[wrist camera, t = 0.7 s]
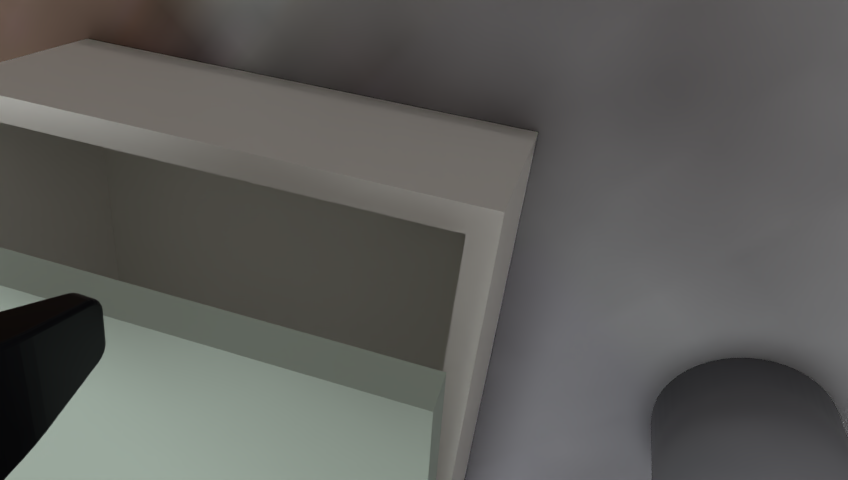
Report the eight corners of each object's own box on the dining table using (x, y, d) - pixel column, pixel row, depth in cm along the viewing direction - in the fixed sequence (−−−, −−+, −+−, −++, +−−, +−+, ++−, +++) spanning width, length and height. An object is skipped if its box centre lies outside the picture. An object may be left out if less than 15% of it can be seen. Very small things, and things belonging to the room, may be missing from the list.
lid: (422, 624, 23) (415, 650, 23) (29, 485, 26) (14, 505, 26) (446, 372, 12) (433, 411, 11) (-263, 173, 15) (-300, 197, 14)
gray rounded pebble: (799, 512, 25) (828, 628, 21) (631, 463, 26) (629, 564, 22) (872, 386, 22) (922, 493, 18) (679, 336, 23) (686, 428, 19)
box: (462, 490, 29) (423, 621, 24) (129, 386, 32) (30, 483, 26) (538, 132, 21) (504, 212, 16) (87, 38, 24) (-66, 80, 19)
